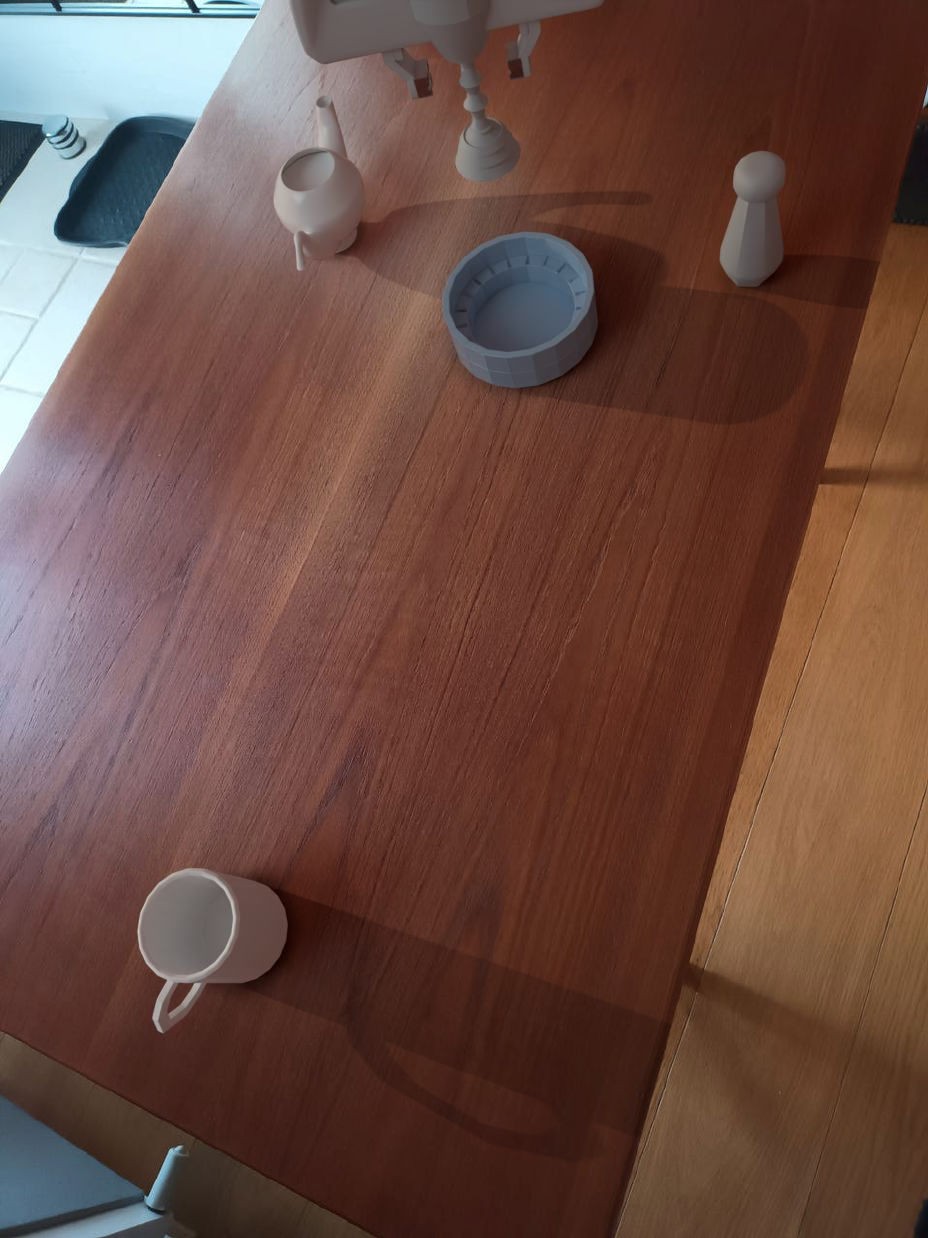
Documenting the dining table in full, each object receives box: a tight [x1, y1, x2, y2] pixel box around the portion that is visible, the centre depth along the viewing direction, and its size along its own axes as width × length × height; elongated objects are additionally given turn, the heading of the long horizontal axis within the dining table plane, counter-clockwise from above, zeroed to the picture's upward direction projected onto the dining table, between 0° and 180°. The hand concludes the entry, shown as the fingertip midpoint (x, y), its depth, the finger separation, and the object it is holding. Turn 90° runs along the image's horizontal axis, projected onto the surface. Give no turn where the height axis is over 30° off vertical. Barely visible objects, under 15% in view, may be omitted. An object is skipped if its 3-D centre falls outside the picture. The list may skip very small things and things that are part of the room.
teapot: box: [272, 95, 366, 272], centre depth 100 cm, size 10×20×9 cm, turn 173°
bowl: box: [441, 230, 599, 389], centre depth 92 cm, size 14×14×6 cm
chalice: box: [410, 0, 522, 183], centre depth 64 cm, size 7×7×18 cm
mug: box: [137, 867, 289, 1034], centre depth 74 cm, size 8×12×10 cm, turn 159°
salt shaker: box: [719, 150, 787, 288], centre depth 86 cm, size 6×6×13 cm
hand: (470, 82), depth 67 cm, fingers closed on chalice, 5 cm apart
